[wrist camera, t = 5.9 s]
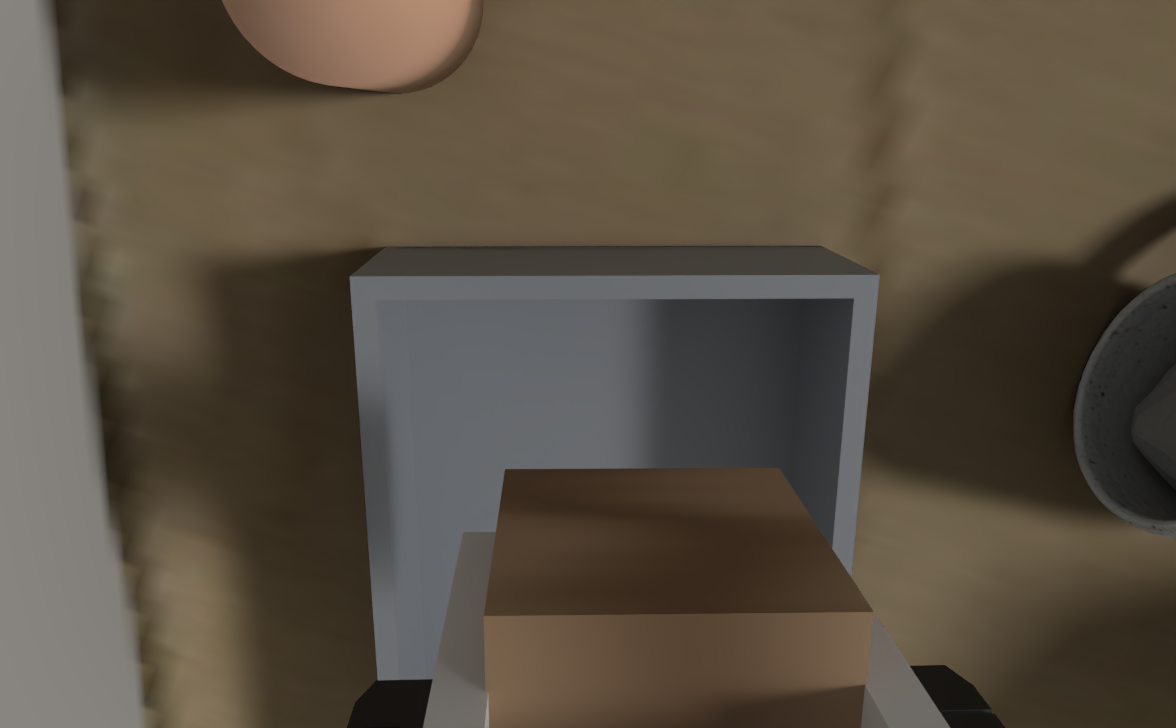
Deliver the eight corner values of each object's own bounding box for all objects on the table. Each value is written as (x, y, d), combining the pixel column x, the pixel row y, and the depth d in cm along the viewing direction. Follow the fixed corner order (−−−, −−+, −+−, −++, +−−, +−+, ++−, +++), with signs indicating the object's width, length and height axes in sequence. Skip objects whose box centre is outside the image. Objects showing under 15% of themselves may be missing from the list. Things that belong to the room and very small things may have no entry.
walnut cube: (508, 708, 17) (490, 932, 13) (504, 469, 16) (483, 616, 11) (762, 704, 18) (841, 925, 13) (778, 467, 16) (874, 611, 11)
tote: (386, 246, 27) (349, 276, 22) (821, 246, 27) (879, 274, 22) (414, 734, 31) (389, 846, 26) (785, 725, 32) (826, 834, 27)
